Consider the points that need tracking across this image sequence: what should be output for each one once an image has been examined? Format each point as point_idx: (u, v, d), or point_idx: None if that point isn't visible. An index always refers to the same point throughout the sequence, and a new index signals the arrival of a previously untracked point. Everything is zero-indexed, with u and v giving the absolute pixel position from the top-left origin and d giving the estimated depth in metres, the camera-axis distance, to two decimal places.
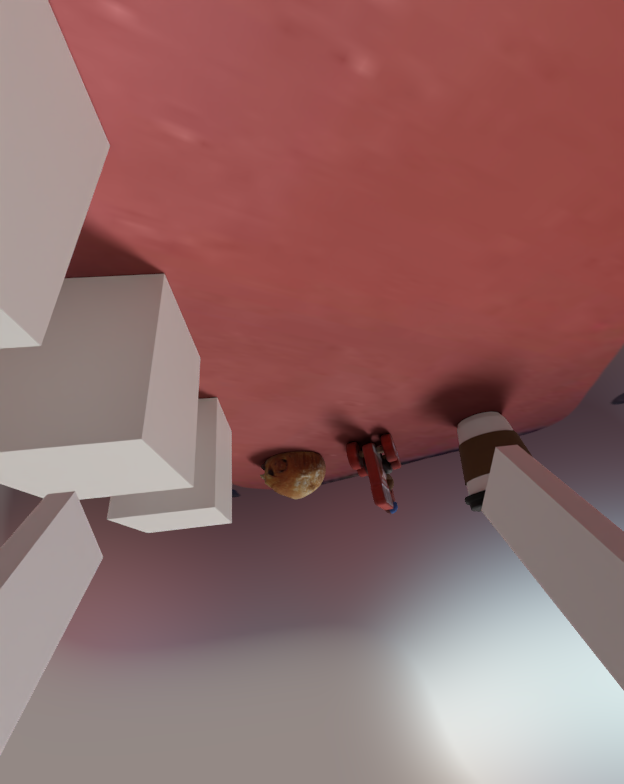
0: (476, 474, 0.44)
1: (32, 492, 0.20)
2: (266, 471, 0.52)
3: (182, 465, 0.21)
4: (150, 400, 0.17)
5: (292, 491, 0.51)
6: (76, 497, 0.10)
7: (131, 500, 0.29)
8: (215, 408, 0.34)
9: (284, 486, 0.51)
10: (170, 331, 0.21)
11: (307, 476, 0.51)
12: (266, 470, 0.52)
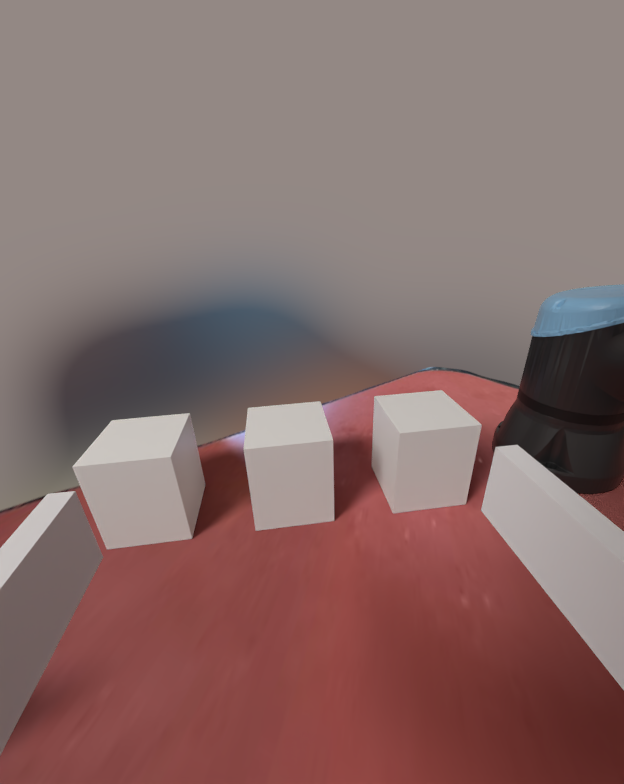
0: None
1: (269, 406, 0.41)
2: None
3: (272, 452, 0.34)
4: (329, 458, 0.35)
5: None
6: (76, 497, 0.10)
7: (188, 430, 0.39)
8: (190, 529, 0.37)
9: None
10: (317, 502, 0.37)
11: None
12: None
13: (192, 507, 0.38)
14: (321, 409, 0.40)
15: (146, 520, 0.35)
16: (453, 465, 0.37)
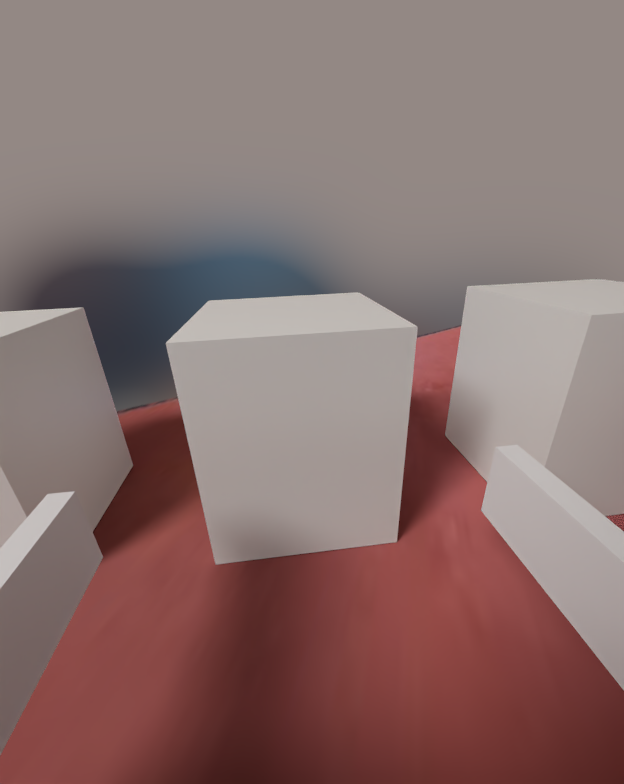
0: None
1: (253, 298, 0.20)
2: None
3: (248, 356, 0.12)
4: (402, 383, 0.13)
5: None
6: (76, 497, 0.10)
7: (74, 339, 0.18)
8: None
9: None
10: (361, 499, 0.15)
11: None
12: None
13: None
14: (365, 298, 0.18)
15: None
16: None
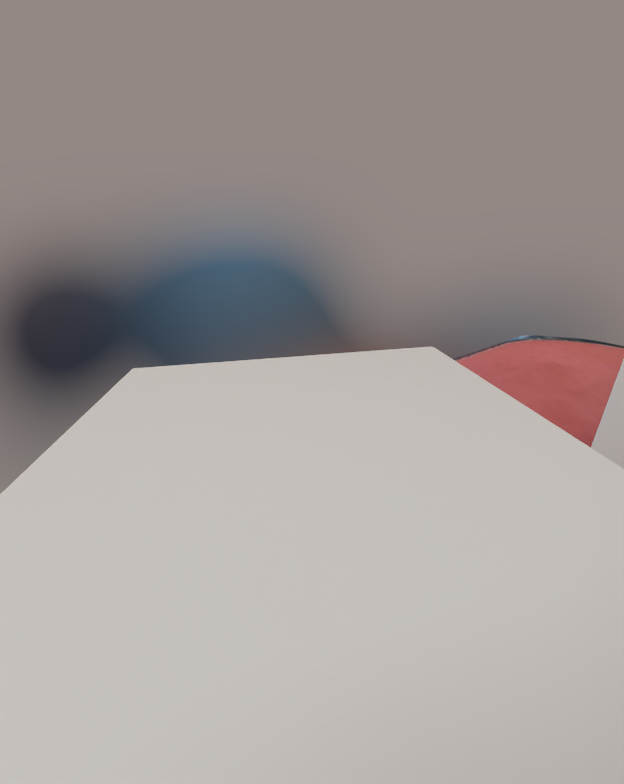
0: None
1: (225, 364, 0.10)
2: None
3: None
4: None
5: None
6: None
7: None
8: None
9: None
10: None
11: None
12: None
13: None
14: (464, 371, 0.08)
15: None
16: None
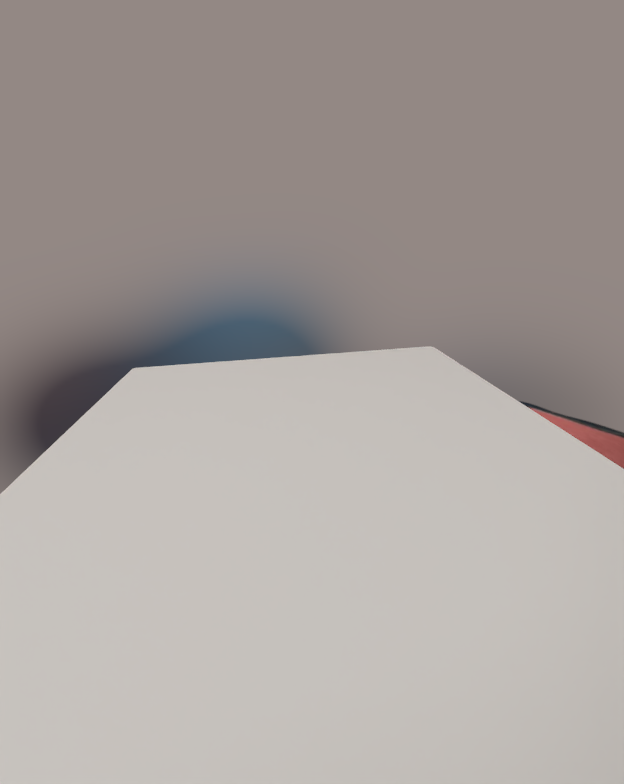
0: None
1: (225, 364, 0.10)
2: None
3: None
4: None
5: None
6: None
7: None
8: None
9: None
10: None
11: None
12: None
13: None
14: (463, 371, 0.09)
15: None
16: None
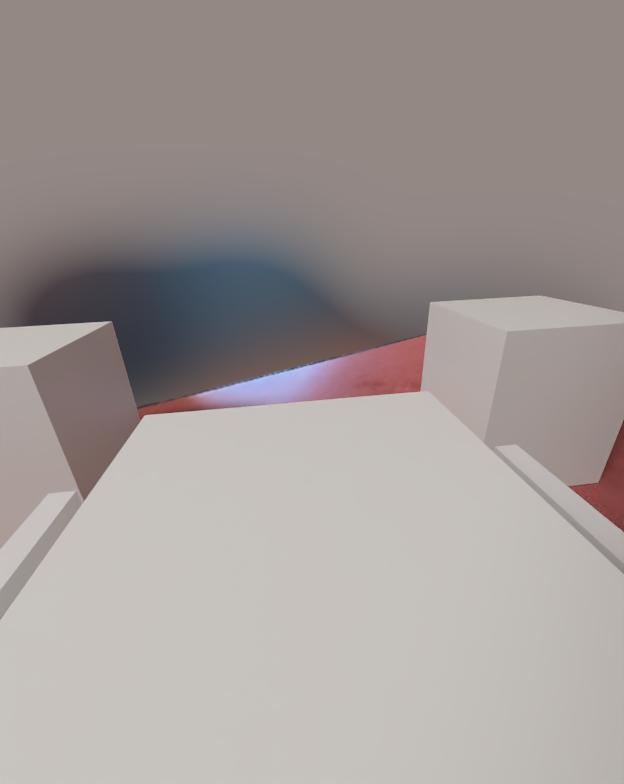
0: None
1: (232, 411, 0.10)
2: None
3: None
4: None
5: None
6: (77, 497, 0.10)
7: (106, 348, 0.22)
8: None
9: None
10: None
11: None
12: None
13: None
14: (457, 424, 0.09)
15: (1, 505, 0.18)
16: (594, 406, 0.20)
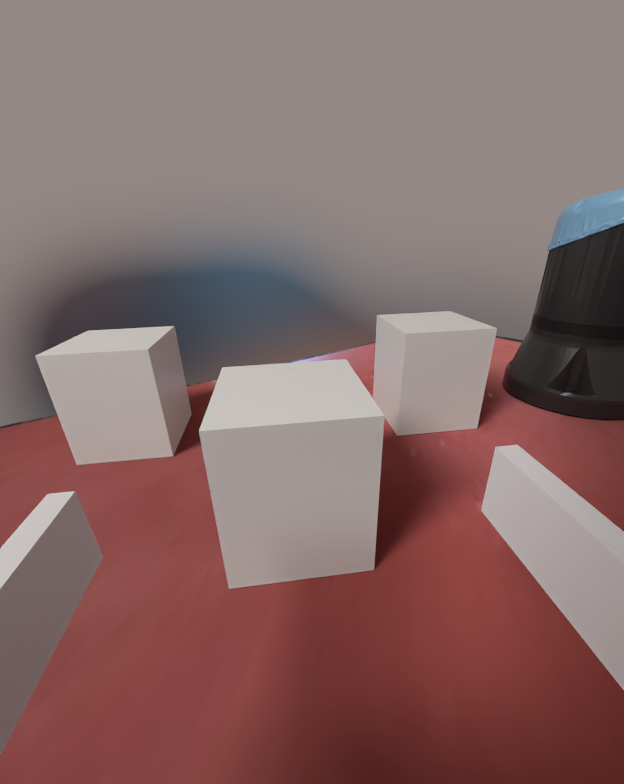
0: None
1: (259, 366, 0.24)
2: None
3: (259, 438, 0.16)
4: (374, 454, 0.17)
5: None
6: (76, 497, 0.10)
7: (172, 342, 0.36)
8: (170, 444, 0.33)
9: None
10: (345, 538, 0.20)
11: None
12: None
13: (174, 423, 0.34)
14: (350, 369, 0.23)
15: (121, 430, 0.31)
16: (465, 378, 0.34)
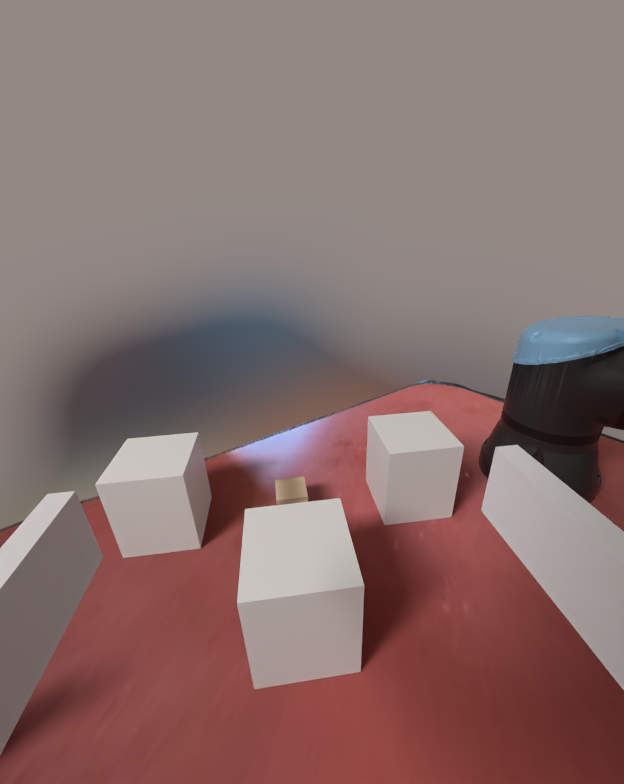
0: None
1: (273, 507, 0.31)
2: None
3: (277, 604, 0.24)
4: (358, 606, 0.25)
5: None
6: (76, 497, 0.10)
7: (197, 448, 0.43)
8: (198, 539, 0.40)
9: None
10: (338, 654, 0.27)
11: None
12: None
13: (200, 519, 0.42)
14: (342, 515, 0.30)
15: (159, 532, 0.39)
16: (439, 482, 0.41)
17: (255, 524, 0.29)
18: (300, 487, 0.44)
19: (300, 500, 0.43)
